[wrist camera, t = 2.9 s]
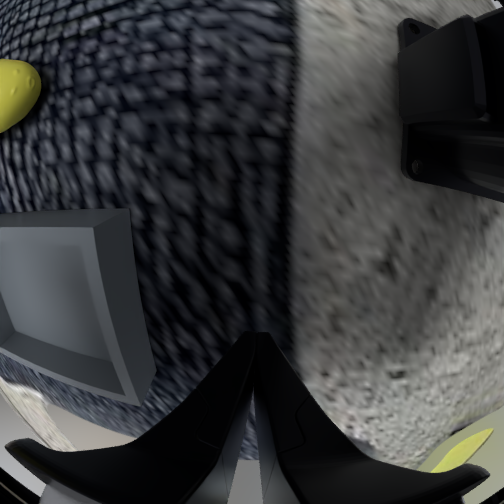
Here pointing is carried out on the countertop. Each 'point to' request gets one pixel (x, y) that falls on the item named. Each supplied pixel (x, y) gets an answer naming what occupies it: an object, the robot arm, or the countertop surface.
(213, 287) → the countertop surface
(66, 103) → the countertop surface
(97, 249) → the tray
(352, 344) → the countertop surface
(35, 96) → the lemon
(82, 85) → the countertop surface
